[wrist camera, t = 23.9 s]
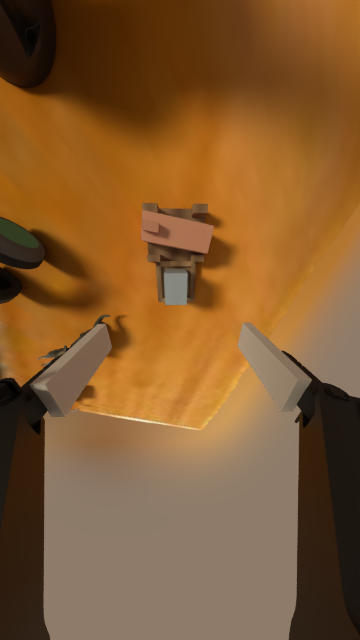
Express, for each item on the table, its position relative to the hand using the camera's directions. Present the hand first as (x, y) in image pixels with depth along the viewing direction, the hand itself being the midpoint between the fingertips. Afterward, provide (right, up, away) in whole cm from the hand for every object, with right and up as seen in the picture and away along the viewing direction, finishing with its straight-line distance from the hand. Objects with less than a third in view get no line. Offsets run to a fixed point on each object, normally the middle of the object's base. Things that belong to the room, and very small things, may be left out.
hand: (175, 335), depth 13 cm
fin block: (-1, +12, +25) cm, 28 cm away
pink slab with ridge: (0, +22, +20) cm, 30 cm away
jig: (-1, +18, +23) cm, 29 cm away
